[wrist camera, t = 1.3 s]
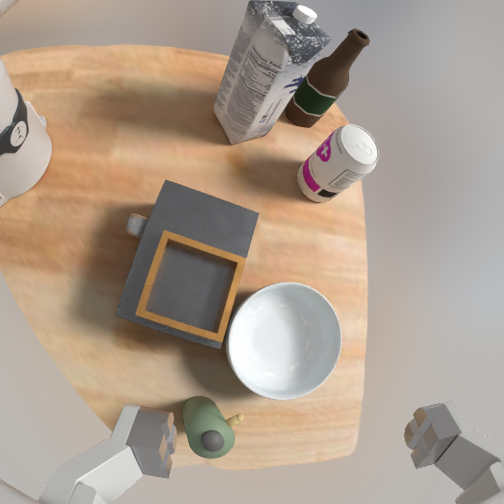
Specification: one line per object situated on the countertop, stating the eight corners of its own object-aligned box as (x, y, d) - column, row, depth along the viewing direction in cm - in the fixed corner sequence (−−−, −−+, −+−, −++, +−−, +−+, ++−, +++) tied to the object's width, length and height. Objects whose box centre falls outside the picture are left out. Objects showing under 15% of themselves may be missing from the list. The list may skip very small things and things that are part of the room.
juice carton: (229, 152, 51) (287, 33, 25) (206, 108, 51) (245, -12, 26) (271, 140, 54) (344, 36, 28) (247, 99, 54) (300, -8, 29)
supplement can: (288, 187, 52) (330, 145, 38) (305, 156, 55) (346, 112, 41) (325, 212, 54) (375, 179, 40) (339, 179, 56) (386, 143, 42)
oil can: (199, 434, 39) (213, 469, 28) (174, 411, 39) (179, 442, 28) (234, 404, 42) (259, 430, 31) (210, 380, 42) (227, 401, 30)
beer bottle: (313, 135, 57) (382, 58, 34) (279, 118, 55) (337, 31, 33) (320, 110, 59) (381, 37, 37) (288, 94, 58) (341, 13, 35)
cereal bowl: (306, 276, 50) (328, 270, 43) (328, 370, 47) (351, 376, 41) (206, 299, 44) (214, 296, 38) (233, 403, 42) (245, 417, 35)
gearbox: (106, 308, 40) (88, 305, 29) (146, 198, 45) (143, 164, 34) (209, 343, 43) (223, 351, 33) (241, 231, 48) (264, 207, 38)
